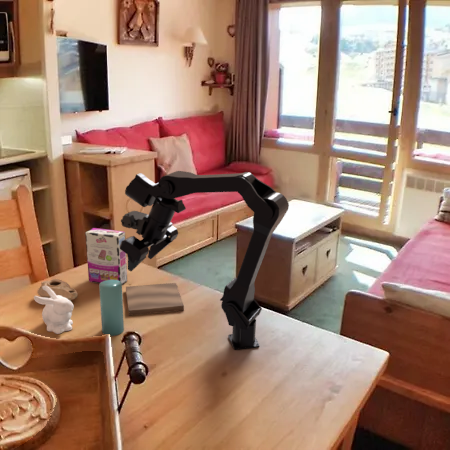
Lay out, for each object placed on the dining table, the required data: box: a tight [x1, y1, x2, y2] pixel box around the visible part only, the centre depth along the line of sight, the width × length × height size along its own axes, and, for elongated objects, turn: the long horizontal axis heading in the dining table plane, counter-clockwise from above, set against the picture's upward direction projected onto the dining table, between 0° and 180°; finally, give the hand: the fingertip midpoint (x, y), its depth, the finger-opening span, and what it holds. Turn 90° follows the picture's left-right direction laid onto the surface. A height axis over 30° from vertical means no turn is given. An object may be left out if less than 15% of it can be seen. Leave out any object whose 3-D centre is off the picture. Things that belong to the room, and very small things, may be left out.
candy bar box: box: [84, 227, 128, 286], centre depth 157 cm, size 11×5×16 cm, turn 73°
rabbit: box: [33, 285, 75, 335], centre depth 132 cm, size 12×9×12 cm
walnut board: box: [125, 282, 185, 316], centre depth 148 cm, size 15×15×2 cm
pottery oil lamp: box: [36, 278, 79, 301], centre depth 147 cm, size 9×12×7 cm
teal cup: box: [98, 280, 125, 337], centre depth 130 cm, size 6×6×13 cm
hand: (139, 264), depth 136 cm, fingers open, 9 cm apart
